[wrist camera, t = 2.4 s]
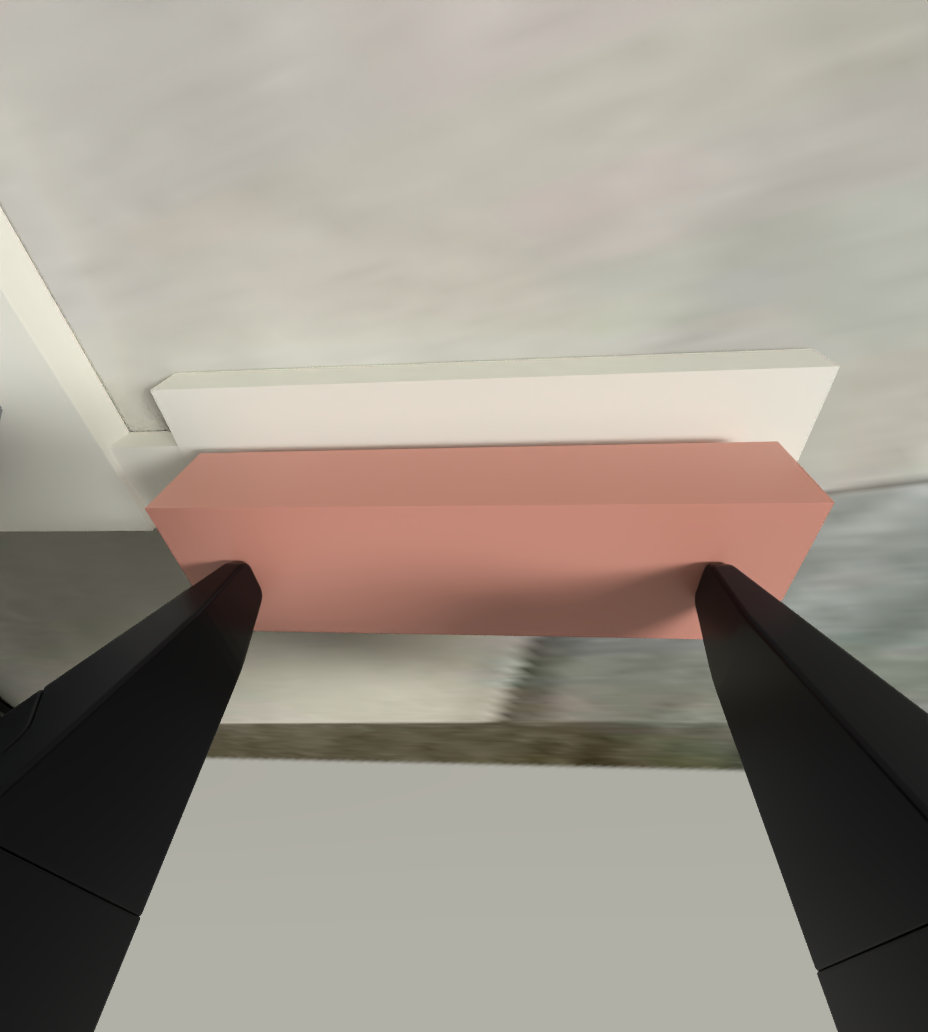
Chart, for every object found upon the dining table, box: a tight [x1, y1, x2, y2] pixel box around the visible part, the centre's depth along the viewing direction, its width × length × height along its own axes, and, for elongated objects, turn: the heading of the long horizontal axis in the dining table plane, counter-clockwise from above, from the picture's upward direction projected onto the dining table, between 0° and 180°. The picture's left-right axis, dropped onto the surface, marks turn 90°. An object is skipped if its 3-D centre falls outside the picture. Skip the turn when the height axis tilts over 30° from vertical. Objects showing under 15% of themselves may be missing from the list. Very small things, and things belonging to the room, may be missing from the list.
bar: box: [145, 441, 834, 639], centre depth 10 cm, size 12×4×2 cm, turn 94°
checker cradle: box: [0, 207, 840, 531], centre depth 10 cm, size 26×12×3 cm, turn 94°
